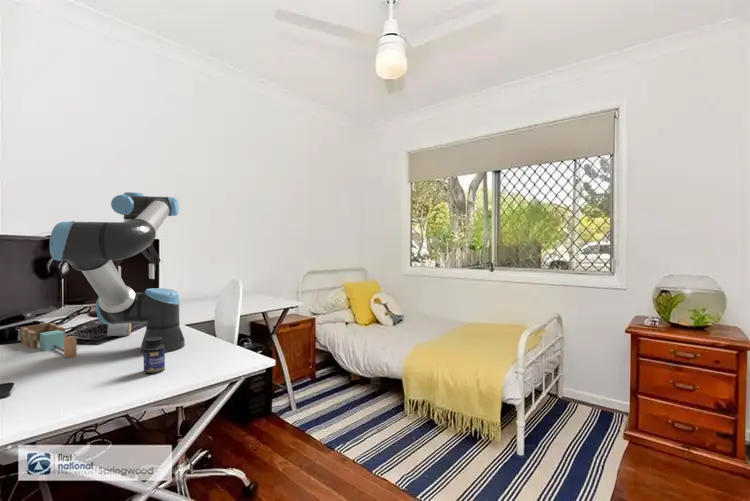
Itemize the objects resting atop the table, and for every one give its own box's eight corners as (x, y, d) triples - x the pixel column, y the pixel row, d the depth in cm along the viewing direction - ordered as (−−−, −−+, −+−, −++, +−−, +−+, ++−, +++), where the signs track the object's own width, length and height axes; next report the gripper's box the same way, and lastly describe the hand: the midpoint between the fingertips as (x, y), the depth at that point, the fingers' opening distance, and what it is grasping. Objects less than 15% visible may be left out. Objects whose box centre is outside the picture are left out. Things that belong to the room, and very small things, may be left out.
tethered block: (82, 354, 140) (81, 336, 140) (62, 359, 135) (61, 340, 135) (59, 344, 152) (58, 327, 152) (40, 348, 147) (39, 330, 147)
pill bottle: (149, 376, 121) (149, 342, 121) (139, 372, 125) (139, 339, 124) (168, 370, 127) (168, 337, 126) (158, 366, 130) (158, 334, 129)
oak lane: (65, 342, 155) (64, 328, 155) (33, 348, 147) (33, 333, 146) (51, 336, 164) (50, 322, 163) (20, 341, 155) (20, 327, 155)
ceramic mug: (129, 337, 164) (129, 319, 164) (107, 339, 160) (106, 321, 160) (132, 331, 174) (132, 315, 173) (111, 333, 170) (110, 316, 170)
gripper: (158, 230, 171) (159, 276, 172) (96, 229, 149) (97, 283, 150) (168, 230, 167) (169, 277, 168) (106, 229, 145) (107, 284, 146)
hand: (135, 280), depth 159 cm, fingers open, 13 cm apart
